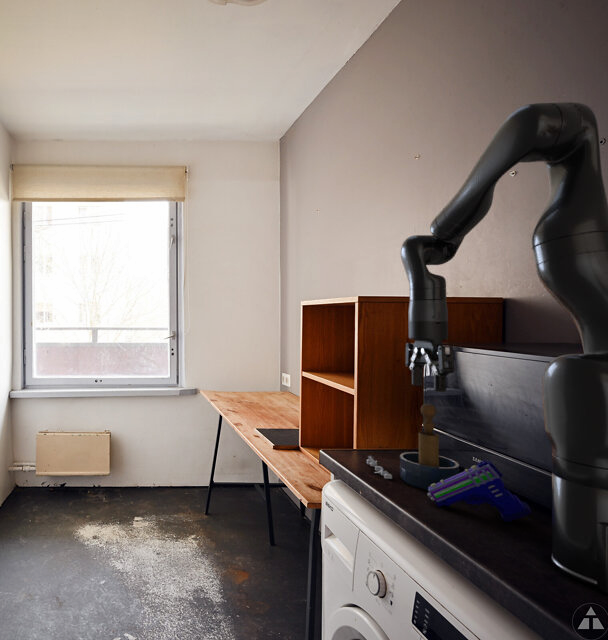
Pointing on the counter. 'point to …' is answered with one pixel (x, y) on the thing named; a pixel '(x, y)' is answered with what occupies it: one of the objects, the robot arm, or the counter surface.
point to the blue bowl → (425, 470)
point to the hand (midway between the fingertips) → (428, 388)
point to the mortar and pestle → (428, 439)
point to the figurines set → (378, 468)
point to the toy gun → (479, 491)
